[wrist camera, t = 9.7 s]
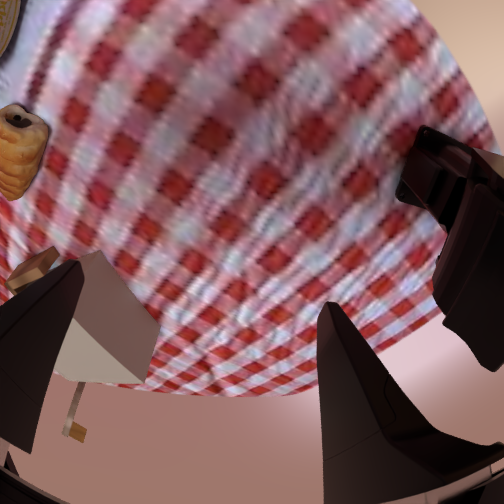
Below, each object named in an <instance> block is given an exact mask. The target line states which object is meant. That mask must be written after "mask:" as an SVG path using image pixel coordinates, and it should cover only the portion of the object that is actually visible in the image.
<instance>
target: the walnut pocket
mask: <svg viewBox="0 0 504 504" xmlns="http://www.w3.org/2000/svg"><path fill="white" fill-rule="evenodd" d="M59 255H60V254H59V253H58V252H57V250H56V249H55V247H54V246H53V247H51V248H49V249H47V250H45V251H43V252H41V253H40V254H38V255H36V256H34V257H32V258H31V259H29V260H27V261H25V262H23V263H22V264H20V265H18V266H17V267H16V269H15V270H14V271H13V273H12V274H11V275H10V277H9V278H8V279H7V281H6V282H5V285H6V287H7V288H8V289H9V290H10V292H11V293H12V294H13V295H14V296H15V295H16V294H18V293H19V292H21V291H22V290H23V289H25V288H26V287H27V285H28V284H29V282H31V281H34V280H36V279H38V278H41V277H43V276H44V275H45V274H46V273H47V271H48V270H49V268H50V267H51V266H52V264H53V263H54V262H55V260H56V259H57V257H58V256H59ZM85 383H86V382H80V381H79V383H78V386H77V388H76V391H75V394H74V397H73V400H72V403H71V406H70V409H69V412H68V415H67V418H66V421H65V424H64V428H63V431H62V434H63V435H64V436H67V437H68V435H69V436H70V437H72V438H74V439H76V440H78V441H80V442H82V443H83V442H84V438H85V435H86V431H87V429H85V428H84V427H82V426H80V425H79V424H77V423H75V422H73V419H74V415H75V412H76V409H77V406H78V403H79V400H80V397H81V394H82V391H83V389H84V386H85Z"/></svg>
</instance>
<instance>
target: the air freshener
mask: <svg viewBox="0 0 504 504" xmlns="http://www.w3.org/2000/svg"><path fill="white" fill-rule="evenodd" d="M20 2H21V0H0V57H1V56H2V54H3V53H4V51H5V49H6V47H7V45H8V44H9V41H10V39H11V37H12V35H13V32H14V29H15V26H16V23H17V19H18V15H19V10H20Z"/></svg>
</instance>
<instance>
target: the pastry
mask: <svg viewBox="0 0 504 504" xmlns="http://www.w3.org/2000/svg"><path fill="white" fill-rule="evenodd" d="M47 139H48V126H47V125H46V124H45V123H44V121H43V120H42V119H40V118H39V117H38V116H35V115H33V114H30V113H26V112H25V110H24V109H23V108H21V107H20V106H18V105H16V104H13V105H8V106H6V107H4V108H2V109H1V110H0V192H1V193H2V194H3V196H5V197H6V198H7V200H8V201H13V200H17V199H19V198H21V197H22V196H23V194H24V192H25V191H26V189H27V188H28V187H29V185H30V183H31V180H32V178H33V177H34V176H35V175H36V173H37V171H38V165H39V163H40V160H41V157H42V155H43V153H44V150H45V146H46V143H47Z"/></svg>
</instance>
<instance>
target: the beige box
mask: <svg viewBox="0 0 504 504" xmlns="http://www.w3.org/2000/svg"><path fill="white" fill-rule="evenodd" d="M76 260H79V261H80V262H81V265H82V269H83V272H84V276H85V282H84V285H83V288H82V291H81V294H80V297H79V300H78V303H77V306H76V310H75V313H74V316H73V318H72V321H71V323H70V326H69V328H68V331H67V333H66V336H65V339H64V341H63V344H62V346H61V349H60V352H59V355H58V357H57V360H56V363H55V366H54V369H55V370H56V371H57V372H58V373H59V374H61V375H62V376H63V377H64V378H66V379H67V380H68V381H80V382H96V383H131V384H144V383H145V379H146V375H147V372H148V368H149V365H150V361H151V358H152V354H153V351H154V347H155V344H156V340H157V337H158V334H159V330H160V327H161V326H160V325H159V324H158V323H157V322H156V321H155V319H154V318H153V317H152V316H151V315H150V314H149V312H148V311H147V310H146V309H145V308H144V306H143V305H142V304H141V303H140V302H139V300H138V299H137V298H136V297H135V295H134V294H133V293H132V292H131V290H130V289H129V288H128V287H127V285H126V284H125V283H124V281H123V280H122V279H121V278H120V276H119V275H118V274H117V272H116V271H115V270H114V268H113V267H112V266H111V264H110V263H109V262H108V260H107V259H106V257H105V256H104V255H103V253H102V252H101V250H99V251H96V252H93V253H91V254H88V255H86V256H83V257H81V258H78V259H76ZM56 268H57V267H56ZM53 269H55V268H53ZM53 269H51V270H49V271H47V273H49V272H50V271H52V270H53ZM47 273H46V274H47ZM46 274H45V275H46ZM38 279H40V278H38ZM38 279H36V280H34V281H31V282H29V284H28V285H27V287H28V286H29V285H31V284H32V283H34V282H35V281H37V280H38Z"/></svg>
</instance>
